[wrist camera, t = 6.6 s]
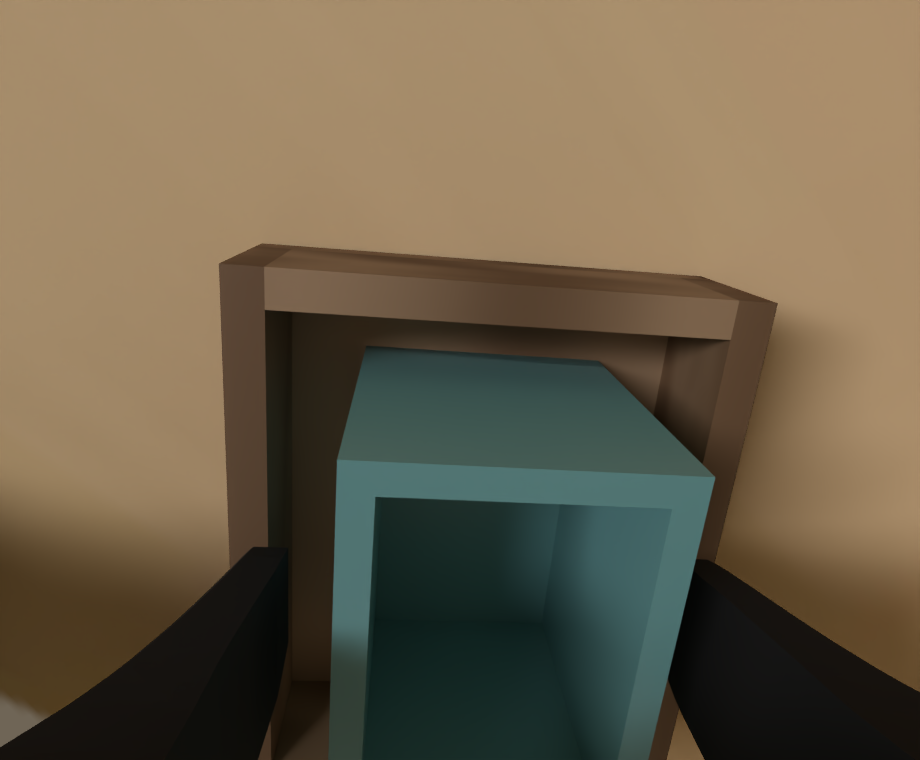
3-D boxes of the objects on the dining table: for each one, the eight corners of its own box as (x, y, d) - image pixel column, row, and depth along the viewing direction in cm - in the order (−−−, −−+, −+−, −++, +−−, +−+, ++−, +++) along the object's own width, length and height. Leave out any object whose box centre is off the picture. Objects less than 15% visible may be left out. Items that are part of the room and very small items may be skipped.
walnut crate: (268, 687, 16) (237, 796, 13) (261, 243, 13) (218, 263, 10) (617, 689, 17) (658, 791, 14) (701, 276, 14) (777, 303, 11)
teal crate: (354, 621, 15) (325, 855, 10) (366, 345, 13) (337, 460, 8) (554, 626, 16) (626, 850, 10) (597, 360, 14) (715, 477, 8)
